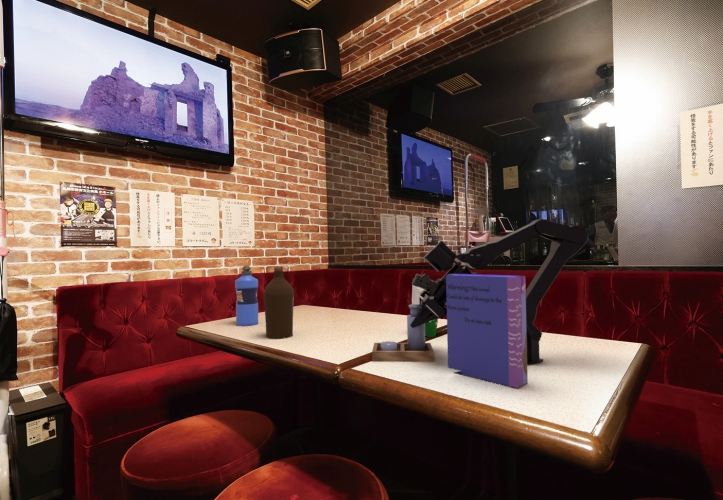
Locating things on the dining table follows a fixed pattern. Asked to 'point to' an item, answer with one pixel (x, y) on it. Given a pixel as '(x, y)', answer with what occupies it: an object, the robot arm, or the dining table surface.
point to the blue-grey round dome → (388, 346)
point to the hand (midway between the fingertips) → (411, 324)
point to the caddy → (403, 354)
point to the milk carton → (431, 325)
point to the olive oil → (279, 306)
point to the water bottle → (246, 299)
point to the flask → (415, 330)
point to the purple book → (487, 327)
